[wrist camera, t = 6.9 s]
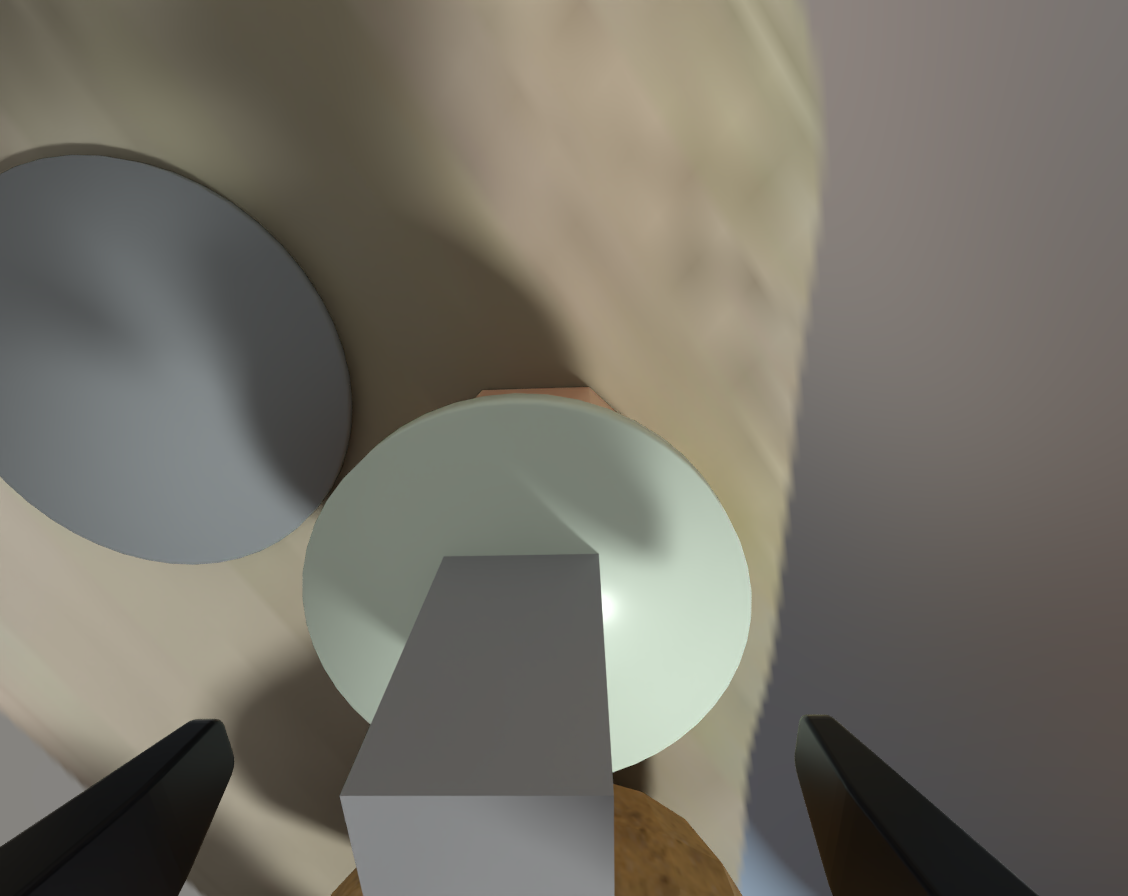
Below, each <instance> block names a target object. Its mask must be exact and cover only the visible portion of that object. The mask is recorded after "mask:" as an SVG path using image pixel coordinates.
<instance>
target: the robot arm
mask: <svg viewBox="0 0 1128 896" xmlns="http://www.w3.org/2000/svg"><path fill="white" fill-rule="evenodd" d="M795 766H796V771H797V775H798V779H799V782H800V786H801V789H802V793H803V796H804V800H805V804H806V807H807V810H808V814H809V818H810V821H811V825H812V828H813V832H814V835H815V839H816V842H817V846H818V849H819V853H820V856H821V860H822V863H823V867H824V870H825V873H826V877H827V880H828V883H829V886H830V889H831V892H832V894H833V896H1039V895H1038V894H1037V893H1036V892H1035V891H1033V890H1032V889H1031V888H1030V887H1029V886H1028V885H1026V884H1025V883H1024V882H1023V881H1022V880H1021V879H1020V878H1018V877H1017V876H1016V875H1015V874H1014V873H1013V872H1011V871H1010V870H1009V869H1008V868H1007V867H1006V866H1004V865H1003V864H1002V863H1001V862H1000V861H999V860H998V859H996V858H995V857H994V856H993V855H992V854H990V853H989V852H988V851H987V850H986V849H985V848H984V847H982V846H981V845H980V844H979V843H978V842H977V841H976V840H974V839H973V838H972V837H971V836H970V835H969V834H967V833H966V832H965V831H964V830H963V829H962V828H960V827H959V826H958V825H957V824H956V823H954V822H953V821H952V820H951V819H950V818H949V817H948V816H947V815H945V814H944V813H943V812H942V811H941V810H940V809H938V808H937V807H936V806H935V805H934V804H933V803H931V802H930V801H929V800H928V799H927V798H926V797H925V796H923V795H922V794H921V793H920V792H919V791H917V790H916V789H915V788H914V787H913V786H912V785H911V784H910V783H908V782H907V781H906V780H905V779H903V778H902V777H901V776H900V775H899V774H898V773H897V772H896V771H894V770H893V769H892V768H891V767H890V766H889V765H888V764H886V763H885V762H884V761H883V760H882V759H881V758H879V757H878V756H877V755H876V754H875V753H874V752H872V751H871V750H870V749H869V748H868V747H867V746H866V745H864V744H863V743H862V742H861V741H860V740H859V739H857V738H856V737H855V736H854V735H853V734H852V733H850V732H849V731H848V730H847V729H846V728H845V727H843V726H842V725H841V724H840V723H839V722H838V721H837V720H835V719H834V718H832V717H831V716H829V715H804V716H802V717H801V719H800V721H799V727H798V734H797V742H796V749H795ZM233 768H234V755H233V752H232V749H231V745H230V742H229V739H228V736H227V733H226V730H225V726H224V724H223V723H222V722H221V721H220V720H218V719H195V720H192V721H189V722H188V723H186V724H185V725H183V726H182V727H180V728H179V729H177V730H176V731H174V732H173V733H171V734H170V735H168V736H166V737H165V738H163V739H162V740H160V741H159V742H157V743H156V744H154V745H153V746H151V747H150V748H148V749H147V750H145V751H144V752H142V753H141V754H139V755H138V756H136V757H135V758H133V759H132V760H130V761H129V762H127V763H126V764H124V765H123V766H121V767H120V768H118V769H117V770H115V771H114V772H112V773H111V774H109V775H108V776H106V777H105V778H103V779H102V780H100V781H99V782H97V783H96V784H94V785H93V786H91V787H90V788H88V789H87V790H85V791H84V792H82V793H81V794H79V795H78V796H76V797H75V798H73V799H72V800H70V801H69V802H67V803H66V804H64V805H63V806H61V807H60V808H58V809H57V810H55V811H54V812H52V813H51V814H49V815H48V816H46V817H45V818H43V819H42V820H40V821H38V822H37V823H35V824H34V825H32V826H31V827H29V828H28V829H27V830H25V831H24V832H22V833H21V834H19V835H17V836H16V837H14V838H13V839H11V840H10V841H8V842H7V843H5V844H4V845H2V846H1V847H0V896H178V895H179V892H180V891H181V889H182V887H183V885H184V883H185V881H186V879H187V877H188V874H189V872H190V870H191V868H192V866H193V863H194V861H195V859H196V856H197V854H198V852H199V850H200V847H201V845H202V843H203V840H204V838H205V836H206V833H207V831H208V829H209V826H210V824H211V822H212V819H213V817H214V815H215V812H216V810H217V808H218V805H219V803H220V801H221V798H222V796H223V794H224V791H225V789H226V787H227V784H228V782H229V780H230V777H231V775H232V772H233Z"/></svg>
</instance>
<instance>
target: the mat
mask: <svg viewBox="0 0 1128 896" xmlns="http://www.w3.org/2000/svg"><path fill="white" fill-rule="evenodd" d="M351 426H352V394H351V385H350V376H349V371H348V367H347V363H346V359H345V354H344V350H343V347H342V345H341V342H340V339H339V336H338V334H337V331H336V328H335V326H334V323H333V321H332V319H331V317H330V315H329V313H328V311H327V309H326V307H325V305H324V303H323V301H322V299H321V297H320V295H319V294H318V292H317V291H316V289H315V288H314V286H313V285H312V283H311V282H310V280H309V279H308V277H307V276H306V274H305V273H304V271H303V270H302V269H301V267H300V266H299V265H298V264H297V263H296V261H295V260H294V259H293V258H292V257H291V255H290V254H289V253H288V252H287V251H286V249H285V248H284V247H283V246H282V245H281V244H280V243H279V242H278V241H277V240H276V239H275V238H274V237H273V236H272V235H271V234H270V233H269V232H268V231H267V230H266V229H265V228H263V227H262V226H261V225H260V224H259V223H258V222H257V221H256V220H254V219H253V218H252V217H250V216H249V215H248V214H246V213H245V212H244V211H243V210H241V209H240V208H239V207H237V206H236V205H235V204H233V203H232V202H230V201H229V200H227V199H225V198H224V197H222V196H220V195H219V194H217V193H215V192H214V191H212V190H210V189H209V188H207V187H205V186H203V185H201V184H199V183H197V182H194V181H192V180H190V179H188V178H186V177H183V176H181V175H179V174H177V173H174V172H171V171H168V170H165V169H161V168H158V167H155V166H152V165H148V164H145V163H140V162H134V161H129V160H123V159H117V158H111V157H106V156H91V155H67V156H59V157H51V158H43V159H39V160H36V161H32V162H29V163H26V164H22V165H19V166H16V167H13V168H11V169H10V170H8V171H6V172H4V173H2V174H0V476H1V477H2V478H3V480H4V481H5V482H6V483H7V484H8V485H9V486H11V487H12V488H13V489H14V490H15V491H16V492H17V493H18V494H20V495H21V496H22V497H23V498H24V499H25V500H26V501H27V502H29V503H30V504H31V505H33V506H34V507H35V508H37V509H38V510H39V511H41V512H42V513H44V514H45V515H46V516H48V517H49V518H50V519H52V520H54V521H55V522H57V523H58V524H60V525H62V526H63V527H65V528H67V529H68V530H70V531H72V532H73V533H75V534H77V535H79V536H82V537H84V538H86V539H88V540H90V541H92V542H94V543H96V544H98V545H101V546H104V547H106V548H109V549H112V550H114V551H117V552H120V553H123V554H126V555H130V556H134V557H138V558H142V559H146V560H151V561H158V562H165V563H171V564H207V563H219V562H223V561H228V560H233V559H238V558H242V557H244V556H247V555H250V554H253V553H256V552H259V551H261V550H263V549H265V548H267V547H269V546H271V545H273V544H275V543H277V542H278V541H280V540H282V539H283V538H284V537H286V536H287V535H288V534H290V533H291V532H293V531H294V530H295V529H297V528H298V527H299V526H300V525H301V524H302V523H303V522H304V521H305V520H306V519H307V518H308V517H309V516H310V515H311V514H312V513H313V512H314V511H315V510H316V509H317V508H318V506H319V505H320V504H321V502H322V501H323V500H324V498H325V497H326V496H327V494H328V493H329V491H330V490H331V488H332V486H333V484H334V482H335V480H336V478H337V476H338V474H339V473H340V470H341V467H342V464H343V461H344V458H345V455H346V452H347V449H348V444H349V438H350V432H351Z"/></svg>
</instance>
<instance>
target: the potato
mask: <svg viewBox="0 0 1128 896" xmlns="http://www.w3.org/2000/svg"><path fill="white" fill-rule="evenodd" d="M613 790H614V896H742V894H741V893H740V891H739V890H738V888H737V886H736V885H735V883H734V882H733V880H732V879H731V877H730V875H729V874H728V872H727V871H726V869H725V867H724V866H723V864H722V863H721V862H720V860H719V859H718V858H717V857H716V856H715V854H714V853H713V852H712V851H711V850H710V848H709V847H708V846H707V845H706V844H705V842H704V841H703V840H702V839H701V838H700V837H699V835H698V834H697V833H696V832H695V831H694V829H693V828H692V827H691V826H690V825H689V823H688V822H687V821H686V820H685V819H684V818H682V817H681V816H679V815H677V814H676V813H674V812H673V811H671V810H670V809H668V808H666V807H665V806H663V805H662V804H660V803H659V802H657V801H655V800H654V799H652V798H651V797H649V796H648V795H646V794H644V793H643V792H640V791H636V790H633V789H630V788H626V787H623V786H619V785H616V784H613ZM331 896H363V893H362V889H361V884H360V880H359V876H358V872H357V867H356V868H355V869H354V871H353V872H352V873H351V874H350V875H349V876H348V877H347V878H346V879H345V880H344V881H343V882H342V883H341V884H340V885H339V886H338V888H337V889H336V890H335V891H334V892H333V893H332V894H331Z"/></svg>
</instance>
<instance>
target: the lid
mask: <svg viewBox="0 0 1128 896" xmlns="http://www.w3.org/2000/svg"><path fill="white" fill-rule="evenodd" d="M303 604H304V611H305V617H306V623H307V626H308V630H309V633H310V636H311V639H312V643H313V646H314V648H315V650H316V652H317V655H318V657H319V659H320V661H321V663H322V665H323V667H324V669H325V671H326V672H327V674H328V675H329V677H330V679H331V680H332V682H333V683H334V685H335V686H336V688H337V689H338V691H339V692H340V693H341V694H342V695H343V697H344V698H345V699H346V700H347V701H348V703H349V704H350V705H351V706H352V707H353V708H354V709H355V710H356V711H357V712H358V713H359V714H360V715H361V716H362V717H363V718H364V719H365V720H366V721H367V722H368V723H369V724H370V727H369V729H368V732H367V734H366V736H365V739H364V741H363V743H362V745H361V748H360V750H359V752H358V755H357V757H356V759H355V761H354V764H353V766H352V768H351V771H350V773H349V775H348V778H347V780H346V782H345V784H344V787H343V789H342V791H341V794H340V800H341V804H342V808H343V813H344V817H345V821H346V825H347V829H348V834H349V838H350V842H351V846H352V851H353V855H354V859H355V863H356V867H357V872H358V876H359V880H360V884H361V889H362V893H363V896H614V790H613V774H612V772H615V771H618V770H620V769H623V768H626V767H629V766H631V765H634V764H637V763H639V762H641V761H643V760H645V759H647V758H649V757H651V756H653V755H655V754H657V753H658V752H660V751H662V750H663V749H665V748H666V747H668V746H669V745H671V744H672V743H674V742H675V741H677V740H679V739H680V738H681V737H682V736H683V735H685V734H686V733H687V732H688V731H689V730H691V729H692V728H693V727H694V726H695V725H697V724H698V723H699V722H700V721H701V719H702V718H703V717H704V716H705V715H706V714H707V713H708V712H709V711H710V710H711V709H712V708H713V707H714V705H715V704H716V702H717V701H718V700H719V698H720V697H721V695H722V694H723V693H724V691H725V690H726V688H727V687H728V685H729V683H730V681H731V679H732V677H733V675H734V674H735V672H736V670H737V668H738V666H739V663H740V660H741V657H742V654H743V651H744V648H745V646H746V643H747V638H748V632H749V626H750V621H751V585H750V578H749V571H748V566H747V562H746V559H745V556H744V553H743V549H742V546H741V543H740V540H739V538H738V536H737V534H736V532H735V530H734V528H733V526H732V524H731V522H730V520H729V518H728V516H727V514H726V512H725V510H724V508H723V507H722V505H721V503H720V501H719V499H718V497H717V496H716V495H715V493H714V492H713V490H712V489H711V487H710V486H709V484H708V483H707V481H706V480H705V479H704V477H703V476H702V475H701V473H700V472H699V471H698V470H697V469H696V468H695V467H694V466H693V465H692V464H691V463H690V462H689V460H688V459H687V458H686V457H685V456H684V455H683V454H682V453H680V452H679V451H678V450H677V449H676V448H674V447H673V446H672V445H671V444H669V443H668V442H667V441H666V440H665V439H663V438H662V437H661V436H659V435H658V434H656V433H654V432H653V431H651V430H649V429H648V428H646V427H645V426H643V425H641V424H640V423H638V422H636V421H635V420H632V419H630V418H628V417H626V416H623V415H621V414H619V413H617V412H614V411H612V410H610V409H608V408H605V407H601V406H598V405H594V404H591V403H588V402H584V401H581V400H578V399H572V398H566V397H560V396H554V395H548V394H523V393H512V394H501V395H490V396H482V397H478V398H474V399H469V400H465V401H460V402H456V403H453V404H450V405H447V406H445V407H442V408H439V409H436V410H434V411H431V412H428V413H426V414H424V415H422V416H420V417H418V418H417V419H415V420H413V421H411V422H409V423H407V424H405V425H404V426H402V427H400V428H399V429H397V430H396V431H395V432H393V433H392V434H391V435H389V436H388V437H387V438H385V439H384V440H383V441H381V442H380V443H379V444H377V445H376V446H375V447H374V448H373V449H372V450H371V451H370V452H369V453H368V454H367V455H366V456H365V457H364V458H363V459H362V460H361V461H360V462H359V463H358V464H357V465H356V466H355V467H354V468H353V469H352V470H351V471H350V472H349V473H348V474H347V475H346V476H345V477H344V478H343V480H342V481H341V482H340V484H339V485H338V486H337V488H336V489H335V490H334V492H333V493H332V494H331V496H330V497H329V499H328V500H327V502H326V503H325V505H324V507H323V509H322V511H321V513H320V515H319V517H318V519H317V521H316V523H315V525H314V528H313V531H312V534H311V537H310V540H309V543H308V546H307V550H306V556H305V562H304V568H303Z"/></svg>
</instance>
